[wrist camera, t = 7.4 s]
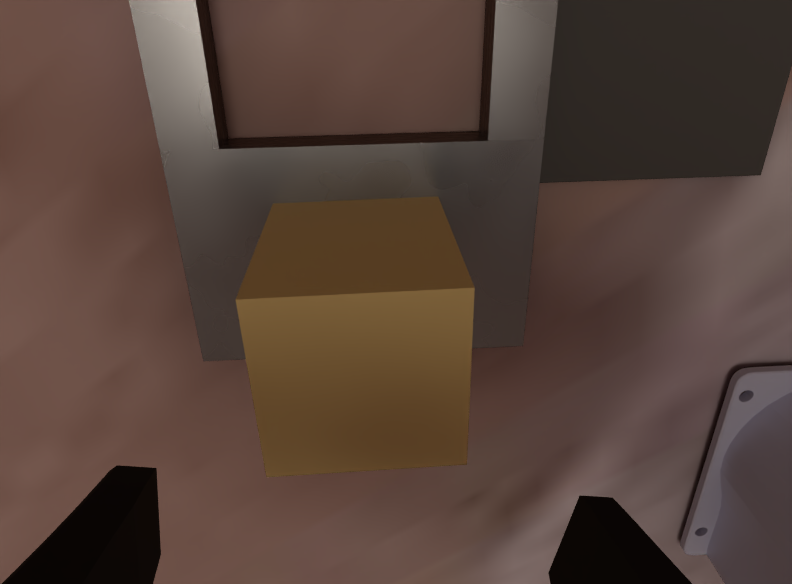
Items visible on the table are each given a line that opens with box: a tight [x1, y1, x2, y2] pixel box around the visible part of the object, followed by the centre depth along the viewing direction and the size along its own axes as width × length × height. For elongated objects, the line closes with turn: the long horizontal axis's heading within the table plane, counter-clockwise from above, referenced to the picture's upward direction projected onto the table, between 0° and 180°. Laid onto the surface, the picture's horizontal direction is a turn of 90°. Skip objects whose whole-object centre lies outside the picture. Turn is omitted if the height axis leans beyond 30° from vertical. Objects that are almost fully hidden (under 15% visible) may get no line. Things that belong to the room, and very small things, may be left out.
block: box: [236, 196, 475, 477], centre depth 14 cm, size 4×4×6 cm
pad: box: [540, 0, 792, 183], centre depth 15 cm, size 8×7×1 cm
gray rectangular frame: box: [129, 0, 558, 361], centre depth 14 cm, size 15×10×3 cm, turn 1°
